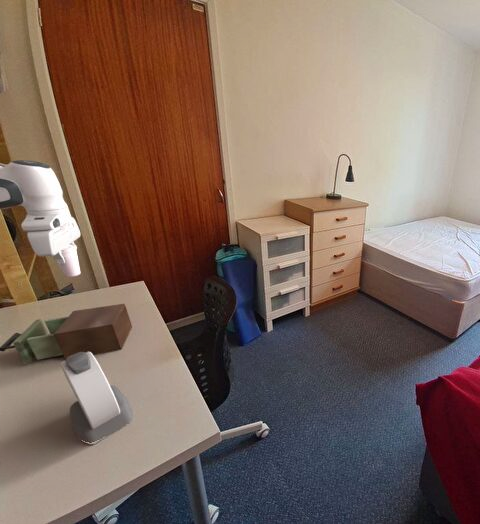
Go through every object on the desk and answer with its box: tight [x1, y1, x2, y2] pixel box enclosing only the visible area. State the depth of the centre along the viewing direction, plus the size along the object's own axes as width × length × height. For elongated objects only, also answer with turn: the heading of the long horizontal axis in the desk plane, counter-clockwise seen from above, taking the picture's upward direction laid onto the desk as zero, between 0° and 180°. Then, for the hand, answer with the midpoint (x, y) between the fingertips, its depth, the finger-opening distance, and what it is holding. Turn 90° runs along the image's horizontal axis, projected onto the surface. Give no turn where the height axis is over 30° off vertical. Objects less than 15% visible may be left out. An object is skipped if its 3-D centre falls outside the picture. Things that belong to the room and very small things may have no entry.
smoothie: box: [58, 243, 82, 278], centre depth 90 cm, size 6×6×14 cm
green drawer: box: [0, 316, 69, 365], centre depth 85 cm, size 17×11×8 cm, turn 113°
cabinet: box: [54, 303, 133, 360], centre depth 89 cm, size 14×13×10 cm
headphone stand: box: [60, 352, 133, 443], centre depth 63 cm, size 16×10×18 cm, turn 53°
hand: (67, 259), depth 90 cm, fingers closed on smoothie, 5 cm apart
